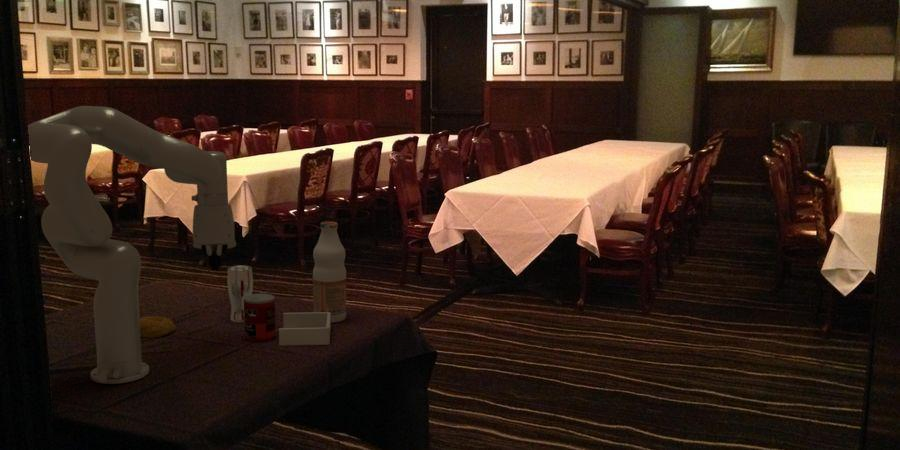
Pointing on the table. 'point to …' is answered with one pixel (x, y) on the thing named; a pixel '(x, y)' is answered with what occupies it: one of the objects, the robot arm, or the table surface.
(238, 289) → the beer glass
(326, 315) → the box
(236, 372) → the table surface
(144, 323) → the bagel
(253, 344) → the table surface
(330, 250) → the fruit juice
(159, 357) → the table surface
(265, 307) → the canned food
